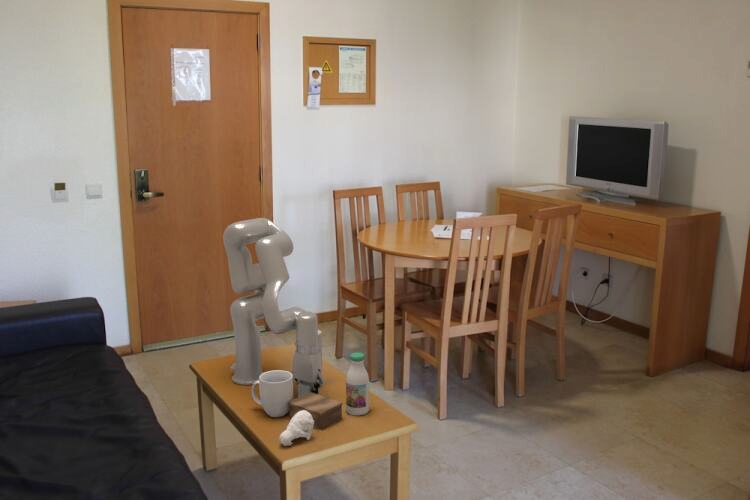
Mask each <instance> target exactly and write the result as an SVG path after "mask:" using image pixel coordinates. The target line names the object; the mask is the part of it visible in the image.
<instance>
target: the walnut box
mask: <svg viewBox="0 0 750 500" xmlns="http://www.w3.org/2000/svg"><path fill="white" fill-rule="evenodd" d="M288 404H289V411H288V412H289V419H290V420H291V419H292V417H293V416H294V415H295V414H296V413H298V412H299V411H302V410H306V411H307V412H309V413H310V414H311V415H312V418H313V420H314V426H313V429H317V430H320V431H323V430H324V429H326V428H328V427H330V426H331V425H334V424H336V423H337V422H339V421H341V420H342V419H343V402H341V401H340V400H339V401H338V400H335V399H332V398H329V397H326V396H323V395H320V394H319V395H318V394H315V393H312V392H309V393H307V394H305V395H302V396H300V397H298V396H297V397H296V398H293V399H292V401H289V402H288Z"/></svg>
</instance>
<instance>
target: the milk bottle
mask: <svg viewBox="0 0 750 500" xmlns="http://www.w3.org/2000/svg"><path fill="white" fill-rule="evenodd" d="M349 357H350V358H349V359H350V366H349V368H348V371H347V374H346V377H345V378H346V379H345V402H346V403H345V405H346V407H345V410H346V412H347V413H348V414H349V415H352V416H363V415H366V414H368V413H369V411H370V378H369V373H368V371H367V369H366V367H365V364H364V362H365V354H364V353H362V352H353V353H351V354H350V355H349Z"/></svg>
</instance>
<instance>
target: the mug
mask: <svg viewBox="0 0 750 500" xmlns="http://www.w3.org/2000/svg"><path fill="white" fill-rule="evenodd" d="M264 372H265V373H263V374H261V375H260V377H259V380H258V381H256V382H255V383H254V384H252V385H251V391H250V392H251V397H252V399H253V400H254V402H255V403H256V404H258V405H260V406H262V408H263V410H264V412H265V413H266V415H268V416H269V417H272V418H280V417H284V416H285V415H287V414H288V412H289V404H288V402H289V401H292V400H294V398H293V397H294V377H293V375H292V374H291V373H292V372H291V371H287V370H280V369H277V370H276V369H274V370H269V371H264ZM257 385H258V387H259V398H260V399H259V398H258V397H257V393H256V388H257Z"/></svg>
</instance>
